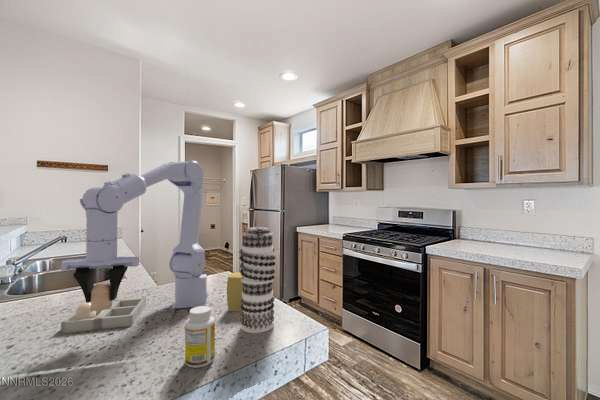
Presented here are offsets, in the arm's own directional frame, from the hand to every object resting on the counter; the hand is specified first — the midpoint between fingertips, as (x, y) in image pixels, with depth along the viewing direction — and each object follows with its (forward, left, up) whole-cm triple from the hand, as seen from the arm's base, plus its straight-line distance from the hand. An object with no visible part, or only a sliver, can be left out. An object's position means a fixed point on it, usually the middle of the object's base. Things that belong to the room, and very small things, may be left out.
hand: (101, 300), depth 62 cm
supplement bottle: (-22, +14, -10) cm, 28 cm away
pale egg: (+7, -10, -9) cm, 15 cm away
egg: (0, 0, -2) cm, 2 cm away
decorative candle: (-35, +1, -10) cm, 36 cm away
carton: (+3, -13, -9) cm, 16 cm away
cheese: (-34, -14, -10) cm, 38 cm away
